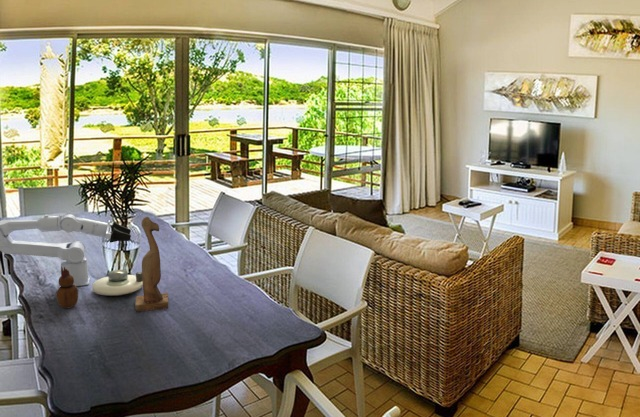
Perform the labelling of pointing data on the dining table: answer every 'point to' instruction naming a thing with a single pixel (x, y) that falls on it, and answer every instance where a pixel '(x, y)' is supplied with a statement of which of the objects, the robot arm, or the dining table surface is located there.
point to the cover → (117, 275)
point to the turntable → (118, 285)
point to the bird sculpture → (151, 273)
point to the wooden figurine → (67, 290)
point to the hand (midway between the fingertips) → (130, 235)
